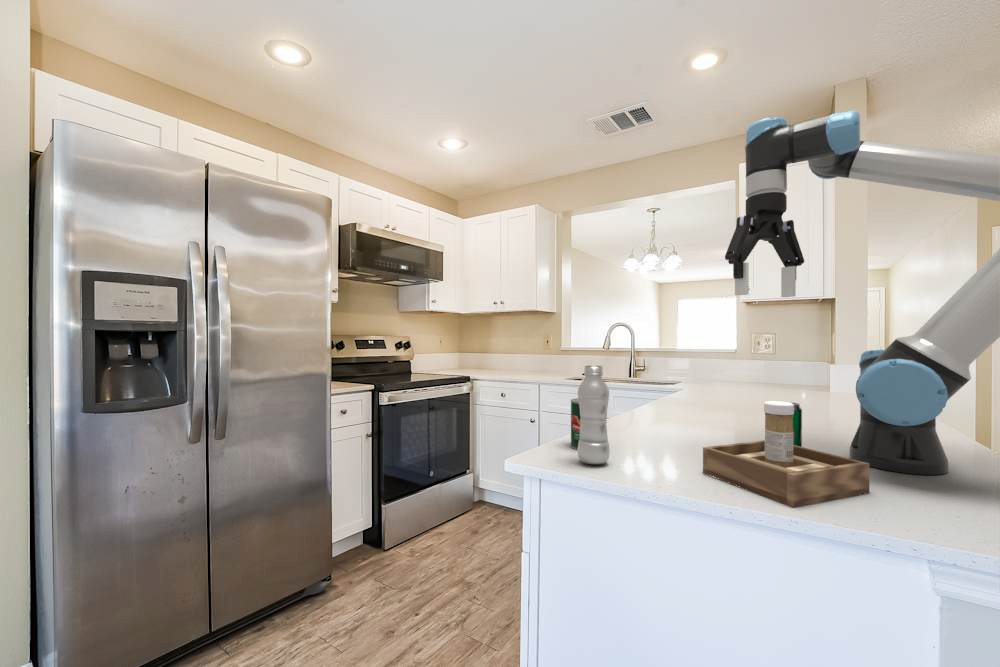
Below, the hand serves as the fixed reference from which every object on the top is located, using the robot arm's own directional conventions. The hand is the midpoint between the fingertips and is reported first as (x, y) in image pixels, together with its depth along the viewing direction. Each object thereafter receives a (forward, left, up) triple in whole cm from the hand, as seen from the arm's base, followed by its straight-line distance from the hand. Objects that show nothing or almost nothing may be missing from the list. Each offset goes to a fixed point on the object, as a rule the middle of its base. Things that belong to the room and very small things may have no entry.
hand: (765, 296), depth 96 cm
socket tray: (+11, +12, -35) cm, 38 cm away
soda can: (-4, +2, -35) cm, 35 cm away
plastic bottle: (+36, -10, -35) cm, 51 cm away
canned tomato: (+30, -22, -35) cm, 51 cm away
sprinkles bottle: (+12, +12, -34) cm, 38 cm away
